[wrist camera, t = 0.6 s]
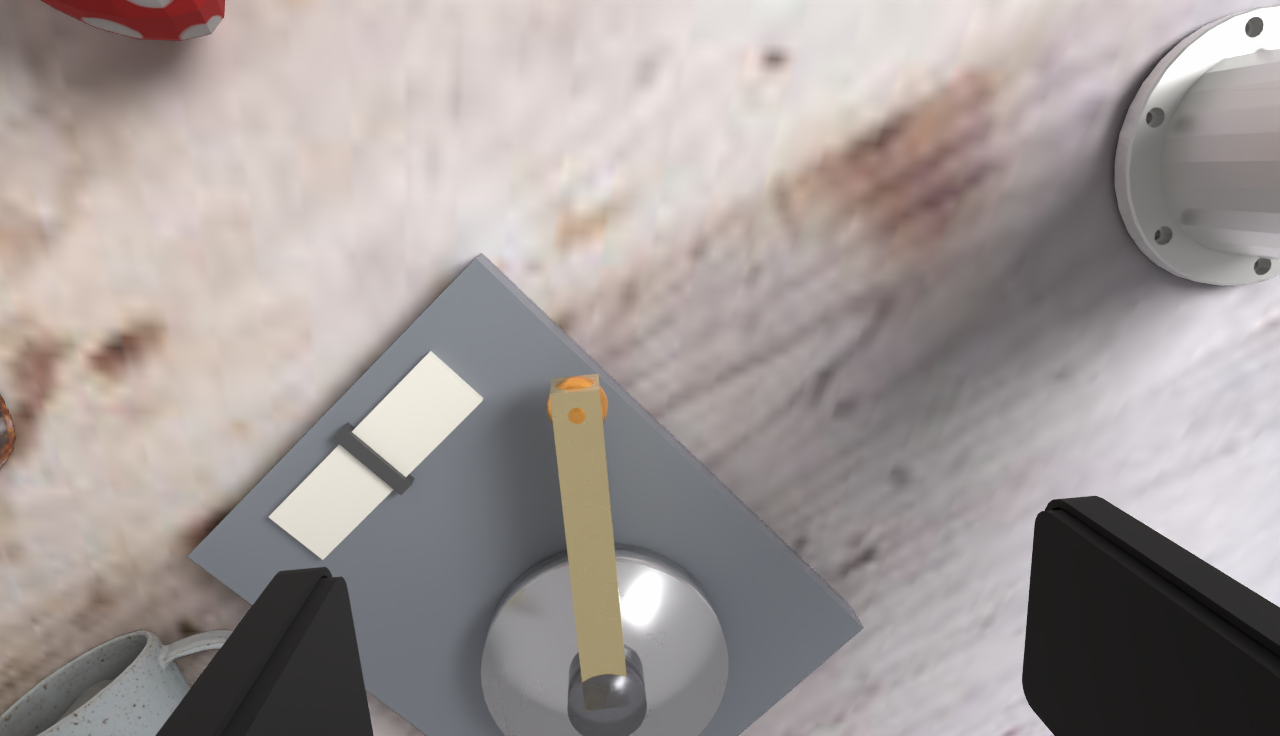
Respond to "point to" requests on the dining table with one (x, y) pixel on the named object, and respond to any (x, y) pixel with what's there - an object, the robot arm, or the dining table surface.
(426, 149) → the dining table surface
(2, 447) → the sauce bottle
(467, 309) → the stand
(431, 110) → the dining table surface
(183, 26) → the decorative mushroom
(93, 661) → the ceramic mug
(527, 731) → the dial lever
